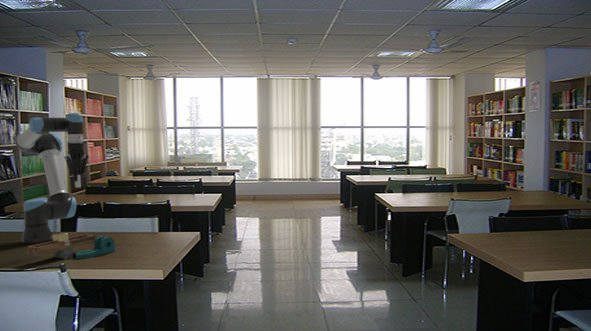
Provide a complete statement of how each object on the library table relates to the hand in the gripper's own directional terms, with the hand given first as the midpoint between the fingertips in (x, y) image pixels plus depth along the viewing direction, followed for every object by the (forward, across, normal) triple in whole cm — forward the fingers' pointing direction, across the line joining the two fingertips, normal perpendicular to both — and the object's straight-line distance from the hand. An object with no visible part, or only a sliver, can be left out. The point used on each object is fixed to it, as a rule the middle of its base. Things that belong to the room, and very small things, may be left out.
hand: (78, 187), depth 259 cm
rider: (+24, -23, -18) cm, 38 cm away
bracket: (+31, -12, -28) cm, 43 cm away
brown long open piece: (+30, -22, -18) cm, 42 cm away
